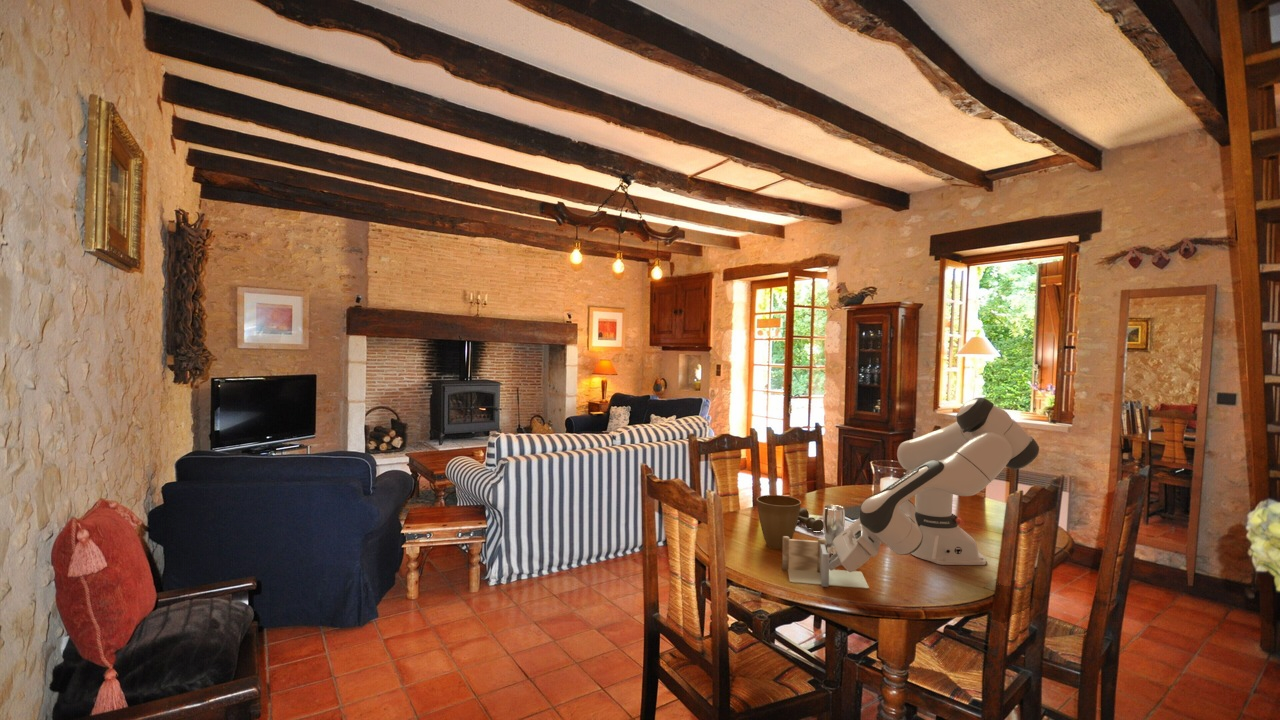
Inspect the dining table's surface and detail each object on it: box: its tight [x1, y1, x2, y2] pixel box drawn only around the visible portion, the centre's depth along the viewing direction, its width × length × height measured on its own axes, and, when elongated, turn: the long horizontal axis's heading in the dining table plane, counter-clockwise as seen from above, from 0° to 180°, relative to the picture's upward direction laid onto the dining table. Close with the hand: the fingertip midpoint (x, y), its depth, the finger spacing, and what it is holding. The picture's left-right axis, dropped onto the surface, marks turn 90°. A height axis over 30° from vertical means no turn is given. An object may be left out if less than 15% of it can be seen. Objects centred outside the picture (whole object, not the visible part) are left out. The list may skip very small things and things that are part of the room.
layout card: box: [787, 569, 870, 590], centre depth 175 cm, size 22×12×1 cm, turn 79°
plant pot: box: [756, 494, 802, 550], centre depth 202 cm, size 15×15×16 cm
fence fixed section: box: [781, 536, 826, 572], centre depth 180 cm, size 13×2×10 cm, turn 79°
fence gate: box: [820, 544, 830, 588], centre depth 172 cm, size 11×2×9 cm, turn 168°
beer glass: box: [822, 504, 846, 555], centre depth 196 cm, size 7×7×15 cm
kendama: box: [798, 507, 824, 532], centre depth 225 cm, size 6×10×20 cm
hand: (828, 566), depth 171 cm, fingers closed, pressing on fence gate
